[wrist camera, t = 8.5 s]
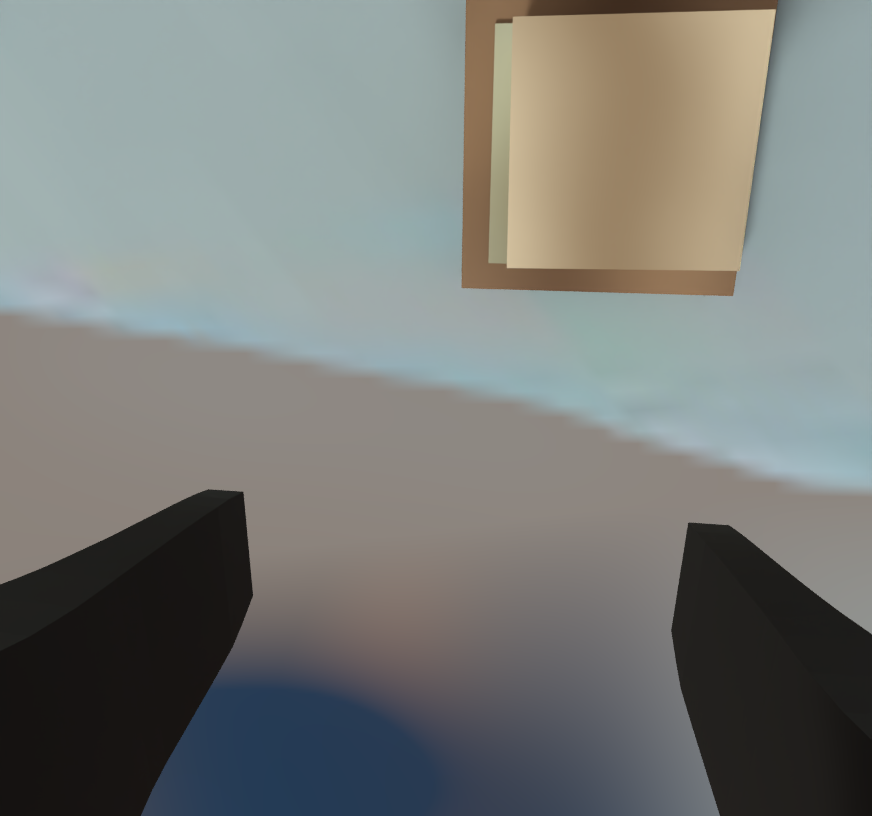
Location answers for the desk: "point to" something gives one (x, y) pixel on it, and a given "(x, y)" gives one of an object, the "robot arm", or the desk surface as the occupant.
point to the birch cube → (634, 138)
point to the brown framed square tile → (490, 144)
